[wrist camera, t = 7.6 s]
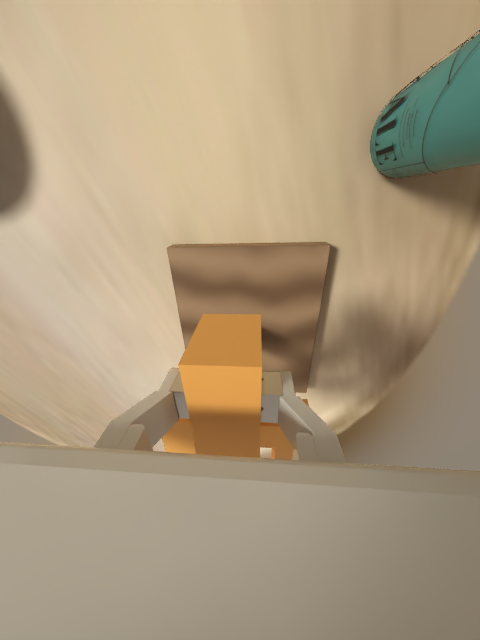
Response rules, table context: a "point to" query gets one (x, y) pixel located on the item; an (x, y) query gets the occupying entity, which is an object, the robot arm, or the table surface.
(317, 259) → the keeper board
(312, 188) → the table surface
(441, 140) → the beverage bottle
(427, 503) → the robot arm
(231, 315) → the loop fitting
